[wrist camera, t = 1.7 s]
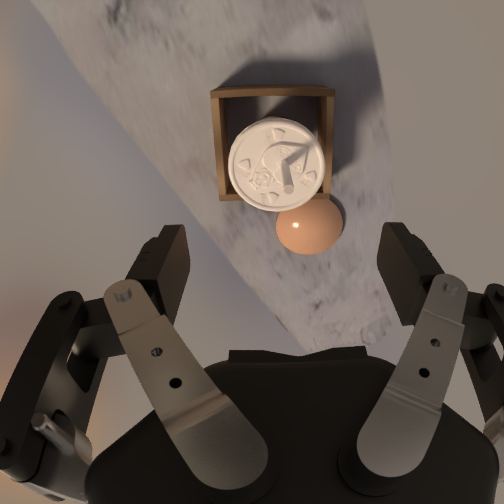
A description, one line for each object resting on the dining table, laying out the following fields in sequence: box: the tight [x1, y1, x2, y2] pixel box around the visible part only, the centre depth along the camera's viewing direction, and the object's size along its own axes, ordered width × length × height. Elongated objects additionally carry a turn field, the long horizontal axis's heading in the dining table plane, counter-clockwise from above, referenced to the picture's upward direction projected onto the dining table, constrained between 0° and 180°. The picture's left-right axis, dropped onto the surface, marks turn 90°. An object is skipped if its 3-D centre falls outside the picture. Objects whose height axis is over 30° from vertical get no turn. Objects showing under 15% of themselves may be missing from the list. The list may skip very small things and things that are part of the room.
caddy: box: [210, 85, 335, 201], centre depth 26 cm, size 10×10×4 cm
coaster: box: [276, 199, 343, 254], centre depth 33 cm, size 7×7×1 cm
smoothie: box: [228, 116, 325, 211], centre depth 22 cm, size 6×6×14 cm
